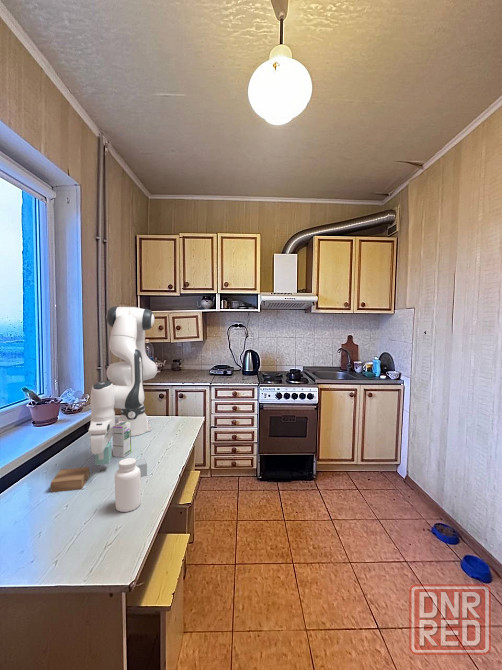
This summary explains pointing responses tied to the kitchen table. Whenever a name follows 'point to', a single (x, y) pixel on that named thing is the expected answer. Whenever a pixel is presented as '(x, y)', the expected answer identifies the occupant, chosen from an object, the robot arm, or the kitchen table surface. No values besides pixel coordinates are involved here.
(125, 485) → the pill bottle
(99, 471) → the kitchen table surface
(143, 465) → the grey block
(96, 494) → the kitchen table surface
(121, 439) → the syrup box
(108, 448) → the teal block
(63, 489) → the base block
